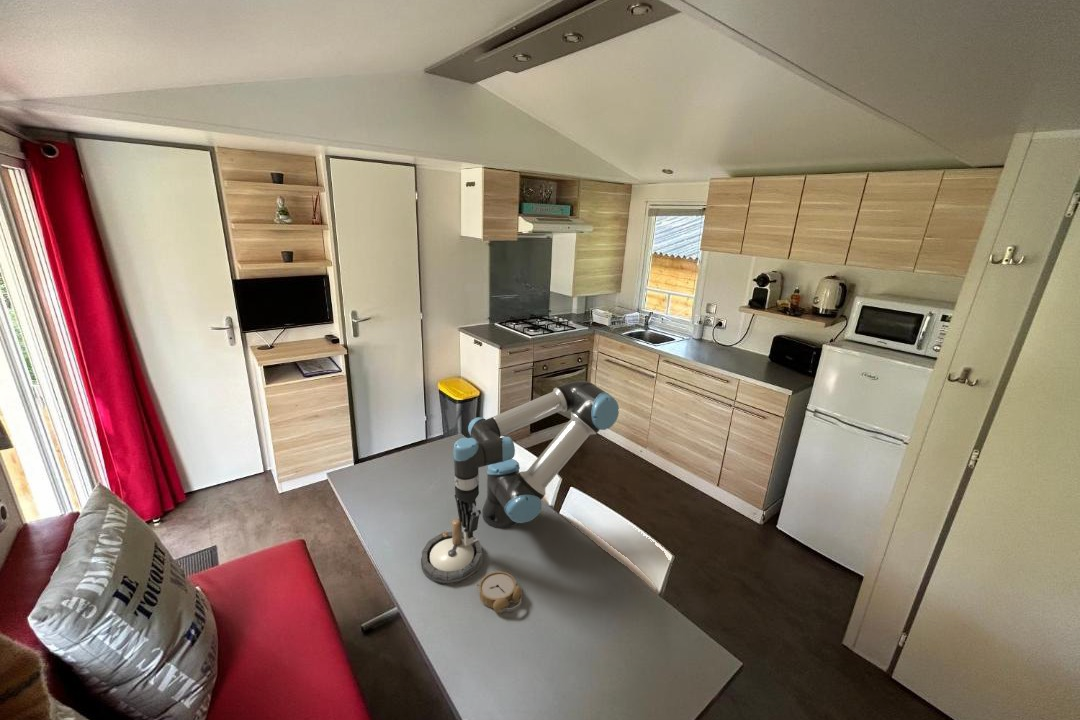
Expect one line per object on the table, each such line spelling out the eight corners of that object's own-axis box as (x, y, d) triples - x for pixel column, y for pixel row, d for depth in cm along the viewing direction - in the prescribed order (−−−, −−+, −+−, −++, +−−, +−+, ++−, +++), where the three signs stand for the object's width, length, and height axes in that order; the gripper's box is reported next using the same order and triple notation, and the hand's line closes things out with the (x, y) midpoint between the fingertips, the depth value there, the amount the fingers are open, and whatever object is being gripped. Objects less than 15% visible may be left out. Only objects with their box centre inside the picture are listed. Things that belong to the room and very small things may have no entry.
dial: (466, 576, 137) (466, 552, 134) (422, 569, 139) (421, 545, 136) (478, 543, 151) (479, 521, 147) (439, 537, 152) (438, 515, 149)
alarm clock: (500, 565, 140) (530, 588, 130) (501, 578, 142) (532, 602, 131) (471, 583, 133) (501, 609, 122) (472, 597, 134) (502, 624, 123)
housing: (477, 533, 157) (477, 525, 156) (487, 577, 139) (487, 568, 138) (419, 543, 151) (419, 534, 150) (422, 590, 133) (422, 580, 132)
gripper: (446, 478, 141) (449, 536, 149) (466, 499, 132) (468, 560, 140) (466, 470, 146) (468, 527, 154) (487, 490, 136) (488, 549, 144)
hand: (468, 543), depth 147 cm, fingers closed
